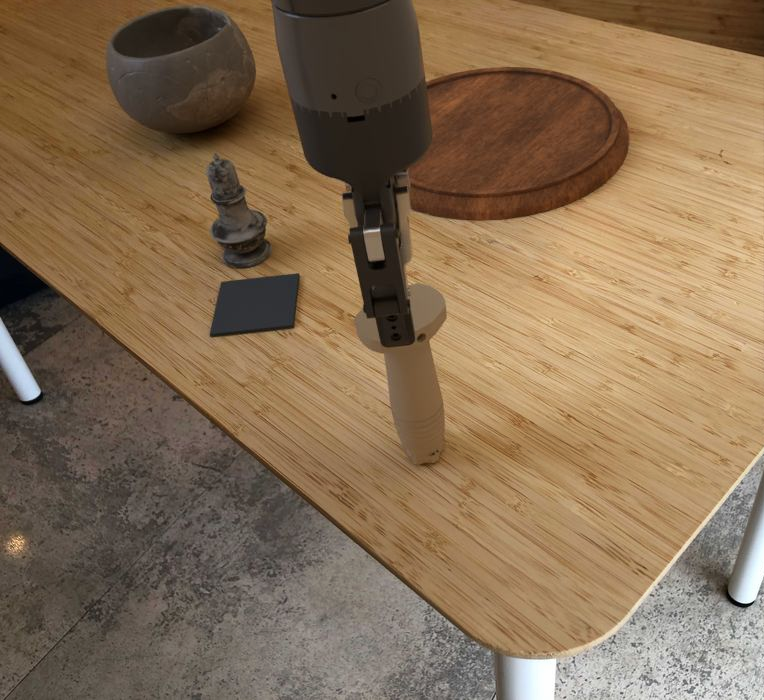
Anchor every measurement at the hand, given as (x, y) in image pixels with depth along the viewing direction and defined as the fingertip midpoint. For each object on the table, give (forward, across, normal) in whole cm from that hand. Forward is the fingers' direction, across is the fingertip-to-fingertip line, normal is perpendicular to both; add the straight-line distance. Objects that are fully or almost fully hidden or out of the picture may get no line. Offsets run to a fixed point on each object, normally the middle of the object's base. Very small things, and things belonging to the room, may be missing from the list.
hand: (398, 300), depth 57 cm
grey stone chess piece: (+16, -30, -18) cm, 39 cm away
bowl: (+16, -61, -28) cm, 69 cm away
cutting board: (+16, -47, +10) cm, 51 cm away
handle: (+16, 0, 0) cm, 16 cm away
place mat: (+16, -21, -16) cm, 31 cm away
